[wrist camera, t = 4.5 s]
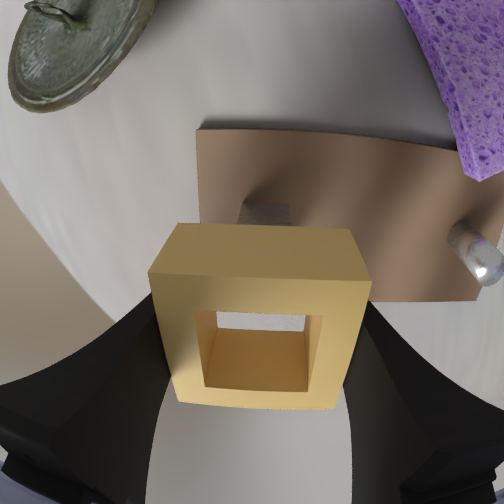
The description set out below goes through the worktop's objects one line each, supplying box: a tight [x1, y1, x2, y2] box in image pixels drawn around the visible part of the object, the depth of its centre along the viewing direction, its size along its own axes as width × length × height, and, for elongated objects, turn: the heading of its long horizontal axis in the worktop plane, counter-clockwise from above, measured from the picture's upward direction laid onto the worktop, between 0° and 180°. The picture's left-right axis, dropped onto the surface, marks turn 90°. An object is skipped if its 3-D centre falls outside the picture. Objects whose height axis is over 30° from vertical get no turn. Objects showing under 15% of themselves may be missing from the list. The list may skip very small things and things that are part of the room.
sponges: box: [397, 0, 504, 182], centre depth 11 cm, size 7×13×2 cm, turn 27°
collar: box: [148, 223, 372, 410], centre depth 10 cm, size 6×6×3 cm
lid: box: [8, 0, 159, 113], centre depth 10 cm, size 11×10×5 cm
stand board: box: [196, 128, 504, 302], centre depth 16 cm, size 19×10×5 cm, turn 89°
